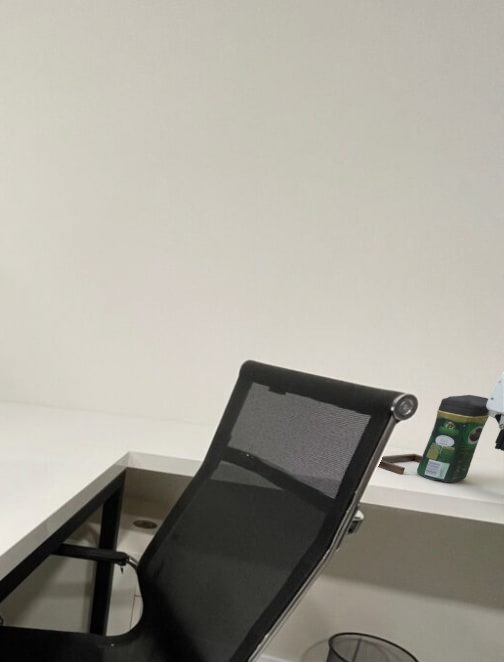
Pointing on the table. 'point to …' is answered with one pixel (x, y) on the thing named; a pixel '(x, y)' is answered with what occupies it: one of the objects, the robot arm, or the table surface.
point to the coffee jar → (454, 438)
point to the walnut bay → (388, 460)
